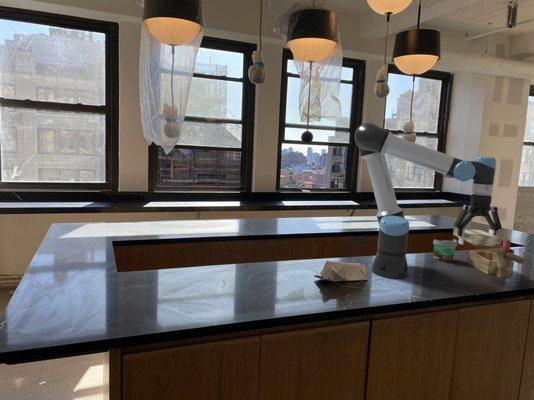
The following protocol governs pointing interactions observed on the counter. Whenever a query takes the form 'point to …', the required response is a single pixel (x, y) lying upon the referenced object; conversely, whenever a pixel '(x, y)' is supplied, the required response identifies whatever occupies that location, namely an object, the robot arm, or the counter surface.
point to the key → (510, 255)
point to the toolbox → (492, 262)
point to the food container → (444, 250)
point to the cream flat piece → (479, 237)
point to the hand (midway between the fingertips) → (475, 244)
